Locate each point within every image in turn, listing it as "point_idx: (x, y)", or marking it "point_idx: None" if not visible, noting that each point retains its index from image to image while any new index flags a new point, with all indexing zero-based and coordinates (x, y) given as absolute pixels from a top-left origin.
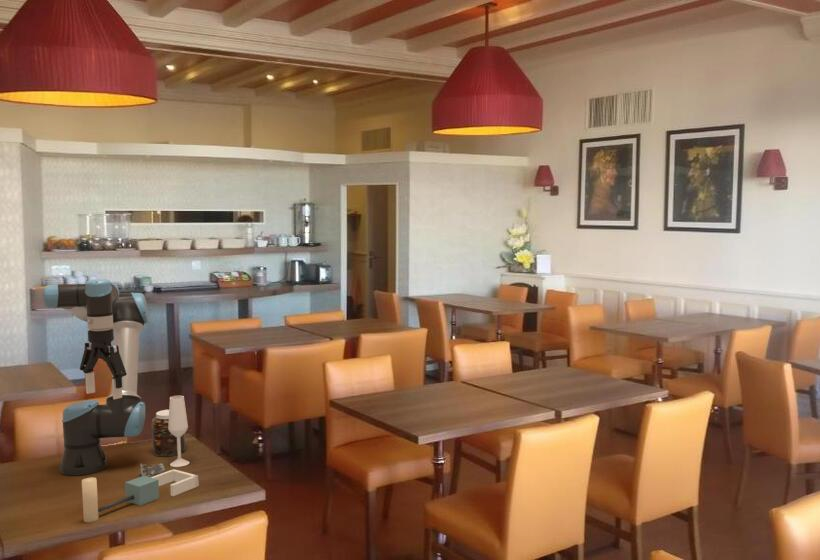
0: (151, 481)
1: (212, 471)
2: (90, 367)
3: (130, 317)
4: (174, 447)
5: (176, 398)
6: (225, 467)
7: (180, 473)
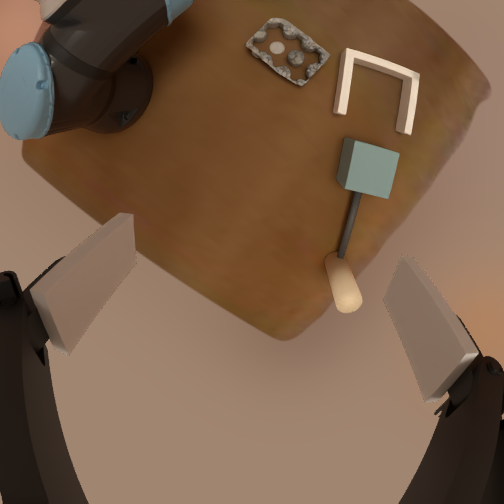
0: (392, 166)
1: (377, 4)
2: (42, 380)
3: None
4: None
5: None
6: None
7: (377, 64)
